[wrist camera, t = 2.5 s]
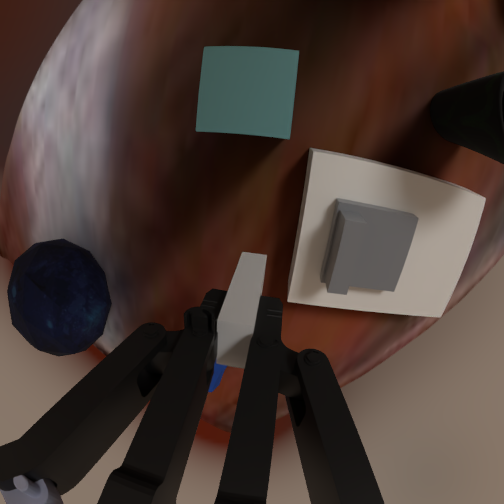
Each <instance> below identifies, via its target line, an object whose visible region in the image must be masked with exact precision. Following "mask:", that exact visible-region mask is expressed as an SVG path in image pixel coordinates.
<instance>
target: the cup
mask: <svg viewBox="0 0 504 504" xmlns="http://www.w3.org/2000/svg"><path fill="white" fill-rule="evenodd" d="M430 114H431V119H432V122H433V125H434V127H435V129H436V130H437V132H438V133H439V134H440V135H441V136H442V137H443V138H444V139H446V140H447V141H450V142H453V143H455V144H458V145H461V146H463V147H466V148H468V149H471V150H473V151H476V152H478V153H480V154H483V155H485V156H487V157H490V158H492V159H494V160H496V161H498V162H500V163H502V164H504V72H500V73H496V74H493V75H489V76H486V77H482V78H479V79H476V80H473V81H470V82H466V83H463V84H460V85H457V86H454V87H451V88H449V89H446V90H443V91H440V92H439V93H437V94H436V95H435V96H434V97H433V100H432V102H431V107H430Z"/></svg>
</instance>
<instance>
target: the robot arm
mask: <svg viewBox="0 0 504 504" xmlns="http://www.w3.org/2000/svg"><path fill="white" fill-rule="evenodd" d="M266 259H267V255H262V254H255V253H248V252H242V254H241V257H240V260H239V262H238V265H237V268H236V271H235V273H234V276H233V279H232V281H231V284H230V287H229V289H228V291H223V290H217V289H212V290H210V291H209V292H208V293H206V295H205V297H204V299H203V301H202V303H201V305H200V307H193V308H190V309H188V310H186V311H185V313H184V326H185V329H184V330H180V331H166V330H165V328H164V327H163V326H162V325H161V324H158V323H146V324H143V325H141V326H140V327H139V328H137V329H136V330H135V331H134V332H133V333H132V334H131V335H130V336H129V337H127V338H126V339H125V340H124V341H123V342H122V343H121V344H120V345H119V346H117V347H116V348H115V349H114V350H113V351H112V352H111V353H110V354H109V355H108V356H106V357H105V358H104V359H103V360H102V361H101V362H100V363H99V364H98V365H97V366H96V367H94V368H93V369H92V370H91V371H90V372H89V373H88V374H87V375H86V376H85V377H84V378H83V379H82V380H81V381H79V382H78V383H77V384H76V385H75V386H74V387H73V388H72V389H71V390H70V391H69V392H68V393H67V394H66V395H64V396H63V397H62V398H61V399H60V400H59V401H58V402H57V403H56V404H55V405H54V406H53V407H52V408H51V409H50V410H49V411H48V412H46V413H45V414H44V415H43V416H42V417H41V418H40V419H39V420H38V421H37V422H36V423H35V424H34V425H33V426H32V427H31V428H30V429H29V430H28V431H27V432H26V433H25V434H24V435H23V436H22V437H21V438H20V439H18V440H15V441H13V442H10V443H8V444H5V445H3V446H0V491H1V493H2V495H3V497H4V499H5V502H6V504H63V501H62V499H61V495H63V494H65V493H66V492H68V491H69V490H71V489H72V488H74V487H75V486H76V485H77V484H78V483H79V482H80V481H81V480H82V479H83V478H84V477H85V475H86V474H87V473H88V472H89V471H90V470H91V469H92V467H93V466H94V465H95V464H96V463H97V462H98V460H99V459H100V458H101V457H102V456H103V455H104V453H105V452H106V451H107V450H108V449H109V448H110V447H111V445H112V444H113V443H114V442H115V441H116V440H117V438H118V437H119V436H120V435H121V434H122V432H123V431H124V430H125V429H126V428H127V427H128V426H129V424H130V423H131V422H132V421H133V420H134V419H135V417H136V416H137V415H138V414H139V413H140V411H141V410H142V409H143V408H144V407H145V405H146V404H147V403H148V402H149V400H150V403H149V405H148V407H147V409H146V411H145V414H144V416H143V418H142V420H141V423H140V425H139V427H138V429H137V432H136V434H135V436H134V438H133V441H132V443H131V445H130V448H129V450H128V452H127V454H126V457H125V459H124V461H123V463H122V466H120V467H119V468H117V469H115V470H113V472H112V473H111V474H110V476H109V477H108V480H107V482H106V484H105V486H104V489H103V491H102V494H101V496H100V498H99V501H98V503H97V504H176V497H177V494H178V490H179V487H180V483H181V480H182V477H183V474H184V470H185V466H186V464H187V460H188V457H189V453H190V450H191V447H192V444H193V440H194V437H195V434H196V430H197V427H198V424H199V420H200V417H201V414H202V410H203V407H204V404H205V400H206V397H207V394H208V390H209V387H210V384H211V380H212V377H213V374H214V364H215V361H216V364H221V365H227V366H232V367H238V368H244V374H243V379H242V384H241V389H240V393H239V398H238V403H237V408H236V412H235V417H234V422H233V426H232V431H231V436H230V440H229V445H228V449H227V454H226V459H225V463H224V467H223V472H222V476H221V480H220V485H219V489H218V493H217V497H216V500H215V503H214V504H266V498H267V490H268V483H269V475H270V466H271V458H272V449H273V440H274V430H275V420H276V410H277V399H278V393H281V394H283V395H285V398H286V402H287V406H288V410H289V414H290V418H291V422H292V427H293V431H294V435H295V439H296V443H297V447H298V451H299V455H300V460H301V463H302V468H303V472H304V476H305V480H306V484H307V488H308V492H309V497H310V501H311V504H384V501H383V498H382V496H381V493H380V490H379V487H378V484H377V482H376V479H375V476H374V473H373V471H372V468H371V466H370V463H369V460H368V457H367V455H366V452H365V449H364V447H363V444H362V442H361V439H360V437H359V434H358V431H357V429H356V426H355V424H354V421H353V419H352V416H351V414H350V411H349V409H348V406H347V404H346V401H345V399H344V396H343V394H342V391H341V389H340V386H339V384H338V382H337V379H336V377H335V374H334V372H333V369H332V367H331V365H330V362H329V360H328V358H327V357H326V355H325V354H324V353H322V352H321V351H319V350H316V349H305V350H303V351H301V352H300V353H298V352H295V351H293V350H291V349H289V348H287V347H286V346H285V345H284V344H283V343H282V340H281V327H282V310H283V304H282V302H281V301H280V299H279V298H273V297H267V296H261V295H262V288H263V281H264V274H265V267H266Z"/></svg>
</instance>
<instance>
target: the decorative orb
mask: <svg viewBox="0 0 504 504" xmlns="http://www.w3.org/2000/svg"><path fill="white" fill-rule="evenodd" d="M7 293H8V300H9V307H10V314H11V319H12V325H13V326H14V327H15V328H16V329H17V330H18V331H19V333H20V334H21V335H22V336H23V337H24V338H25V339H26V340H27V341H28V342H29V343H30V344H31V345H32V346H34V347H35V348H36V349H38V350H40V351H43V352H46V353H49V354H52V355H56V356H64V355H70V354H75V353H79V352H82V351H85V350H87V349H88V348H89V347H90V346H91V345H92V344H93V343H94V342H95V341H96V340H97V339H98V338H99V337H100V336H101V335H103V331H104V327H105V324H106V321H107V317H108V314H109V310H110V307H111V304H112V303H111V299H110V295H109V291H108V286H107V282H106V277H105V273H104V271H103V270H102V268H101V267H100V266H99V264H98V263H97V261H96V260H95V258H94V257H93V256H92V254H91V253H90V251H88V250H86V249H84V248H81V247H79V246H77V245H75V244H73V243H71V242H69V241H67V240H65V239H58V240H52V241H46V242H40V243H35V244H34V245H32V246H31V247H30V248H29V249H28V250H27V251H25V252H24V253H23V254H22V255H21V256H20V257H18V258H17V259H16V260H15V262H14V266H13V270H12V273H11V277H10V281H9V285H8V290H7Z"/></svg>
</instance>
